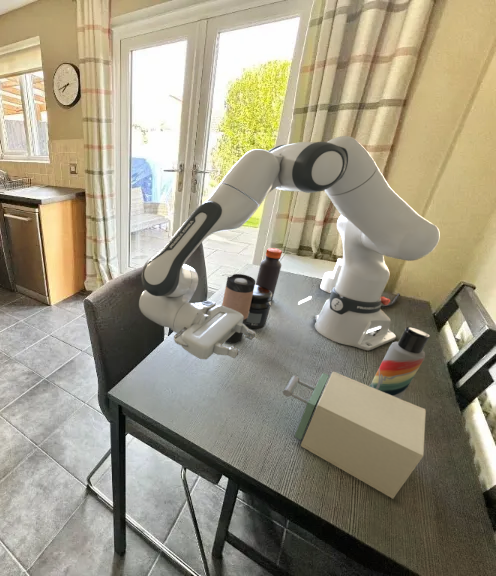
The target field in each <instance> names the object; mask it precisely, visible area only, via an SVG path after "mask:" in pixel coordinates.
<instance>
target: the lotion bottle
mask: <svg viewBox="0 0 496 576" xmlns="http://www.w3.org/2000/svg"><path fill="white" fill-rule="evenodd" d="M429 339H430V334H428V333H427V332H425V331H423V330H421V329H420V328H417V327H414V326H407V327H405V329H404V331H403V332H402V334H401V336H400V338H399V340H398V341H394V342H393V341H392V343H391V344H390V345H389V347H388V349H387V351H386V353H385V355H384V358H383V359H382V361H381V362H380V365H379V367H378V369H377V371H376V373H375V375H374V377H373V379H372V381H371V383H370V385H369V386H370V387H372V388H375V389H377V390H379V391H382V392H384V393H387V394H389V395H392V396H394V397H396V398H399V399H401V400H402V398H403V397H404V394H405V393H406V391H407V389H408V388H409V386H410V384H411V383H412V381H413V379H414V377H415V376H416V374H417V372H418V370H419V369H420V367H421V365H422V363H423V362H424V360H425V358H426V352H425V351H424V350H423V349H424V348H425V346H426V344H427V343H428V341H429Z"/></svg>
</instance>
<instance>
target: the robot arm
mask: <svg viewBox="0 0 496 576" xmlns="http://www.w3.org/2000/svg"><path fill="white" fill-rule="evenodd" d="M275 189H278V190H282V191H285V192H297V193H298V192H300V193H301V192H303V193H306V194H310V193H311V194H312V193H313V194H314V193H319V192H322V191H324V193H325V194H326V195H327V197H328V199H329V200H330V201H331V203H332V204H333V206H334V207H335V209H336V210H337V212H338V214H340V215H339V217H338V218H337V221H336V229H337V232H338V234H339V235H340V238H341V245H342V259H343V262H342V268H341V271H340V274H339V277H338V280H337V283H336V286H335V287H334V288H333V289H332V291H331V293H329V297H328V298H327V299H326V300H325V302H324V304H323V306H322V308H321V310H320V312H319V314H316V315H315V317H314V318H315V322H314V328H315V330H316V332H318V334H320V335H321V336H323V337H325V338H327V339H328V340H330V341H333V342H335V343H338V344H340V345H341V344H342V345H346V346H349V347H351V346H352V347H355V348H358V349H360V350H364V351H371V350H374V349H376V348H379V347H380V346H383V345H385V344H387V343H391V342H393V341H395V340H396V338H397V336H396V334H395V333H394V332H393V331H391V330H390V327H391V325H392V320H391V318H390V317H389V316H388V315H387V314H386V313H385V311H383V310H382V308H388V307H391V306H393V305H394V304H395V303H396V301H397V300H398V299H399V297H400V296H401V293H399V292H398V293H396V295H397V296H395V297H394V298H393V300H392V301H391V299H390V298H387V297H385V296H382V295H383V294H384V290H385V288H386V286H387V285H388V282H389V280H390V275H391V273H390V270H389V268H388V265H387V264H386V262H385V257H387V258H390V259H391V258H392V259H394V260H395V259H396V260H400V261H407V262H413V261H418V260H420V259H423V258H424V257H427V256H428V255H429V254H430V253H432V252H433V251H434V250H435V249H436V247H437V246H438V243H439V242H440V239H441V236H440V235H441V233H440V229H439V227H438V226H437V225H436V224H434V223H432V222H430V221H429V220H428V219H426V218H425V217H423V216H422V215H420V214H419V213H418V212H417V211H416V210H414V208H412V207H411V206H410V205H409V204H408V203H407V202H406V201H405V200H404V199H403V198H402V197H400V195H398V193H396V191H394V189H392V188H391V186H390V185H389V183H388V182H387V180H386V178H385V176H384V175H383V173H382V172H381V170H380V168H379V167H378V165H377V163H376V161H375V160H374V158H373V156H372V155H371V154H370V153H369V151H368V150H367V148H365V147H364V145H362V144H361V143H360V142H359V141H358V140H357V139H355V137H353V136H349V135H341V136H337V137H333V138H331V139H329V140H328V141H298V142H295V143H289V144H279V145H277V146H275V147H273V148H271V149H269V150H266V149H262V148H253V149H251V150H248V151H247V152H245V154H243V156H241V158H239V159H238V161H237V162H236V163H235V164H234V165H232V167H231V168H230V170H229V171H228V172H227V173H226V174H225V176H224V177H223V179H222V180H221V181H220V183H219V184H218V186H217V187H216V188H215V190H214V191H213V192H212V193H211V194H210V195H209V197H208V198H207V199H206V200H205V201H204V202H203V203H201V204H200V205H199V206H198V207H197V208H195V209H194V211H192V213H191V214H189V216H188V217H187V219H186V220H185V221H184V222H183V223H182V225H181V226H180V227H179V228H178V229H177V230H176V232H175V233H174V234H173V235H172V236H171V238H170V239H169V240H168V242H167V243H166V244H165V245H164V246H163V248H161V249H160V250H159V251H158V252H157V253H155V254H153V255H152V256H151V257H150V258H148V259H147V261H146V262H145V263H144V265H143V266H142V267H143V268H142V270H141V283H142V286H143V288H144V290H143V291H142V293H141V294H140V296H139V301H138V307H139V311H140V312H141V314H142V315H143V316H144V317H145V318H147V319H148V320H150V321H152V322H153V323H154V324H157V325H159V326H161V327H164V328H168V329H170V330H172V331H173V332H174V333H175V334H174V335H173V341H174V343H176V344H177V345H179V346H181V348H182V349H184V350H185V351H186V352H187V353H189V354H191V355H192V356H194V357H196V358H197V359H200V360H208V359H209V358H210V357H212V355H213V354H216V355H218V356H228V357H230V358H233V359H236V357H238V356H239V353H240V350H239V349H238V348H237V347H234V346H233V345H231V346H224V344H225V343H226V341H227V340H228V339H229V338H230V337H231V336H232V335H233V334H234V333H235V332H238V333H240V332H241V333H243V336H244V338H245V339H246V340H247V339H248V340H250V341H252V340H253V339H254V338H255V337H256V331H255V330H251V329H248V328H247V327H246V326H245V325H244V324H242V323H243V319H244V316H243V315H242V314H241V313H240V312H238V311H235V310H233V309H230V308H228V307H225V306H222V304H217V302H216V301H214V300H209V299H208V300H205V301H202V302H191V300H192V298H193V297H194V295H195V293H196V291H197V290H198V287H199V283H200V282H199V281H200V279H199V275H198V272H197V271H196V269H195V268H194V267H192V266H191V265H188V264H186V262H187V260H188V259H190V257H191V256H192V255H193V253H195V251H196V250H197V249H198V247H199V246H200V245H201V244H202V243H203V242H204V241H205V240H206V239H207V238H208V237H209V236H211V235H213V234H217V233H220V232H224V231H225V232H226V231H227V232H229V231H234V230H237V229H240V228H241V227H242V226H244V225H245V224H246V223H247V222H248V221H249V220H250V219H251V218H252V216H254V214H255V213H256V212H257V210H258V209H259V207H260V206H261V205H262V203H263V202H264V201H265V199H266V198H267V196H268V195H269V194H270V193H271V192H272V191H274V190H275ZM312 298H313V297H312V295H309V296H308V297H306V298H304V299H301V300H299V301H298V303H297V305H301V304H303V303H305V302H308V301H310V300H312Z"/></svg>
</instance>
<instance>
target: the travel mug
mask: <svg viewBox="0 0 496 576" xmlns="http://www.w3.org/2000/svg"><path fill="white" fill-rule="evenodd" d="M225 283H226V284H225V289H224V294H223V297H222V298H223V299H222V304H221V306H225V307H228V308H230V309H233V310H235V311H238V312H240V313H241V314H242V315H243V316H244V319H243V323H242V324H244V325H246V321H247V318H248V313H249V309H250V304H251V300H252V295H253V291H254V286H255V285H256V280H255V278H254V277H251V276H250V275H247V274H242V273H233V274H232V275H231V276H227V279H226V282H225ZM243 336H244V334H243V333H241V332H240V333H238V332H235V333H234V334H233V335H232V336H231V337H230V338H229V339H228V340H227V341H226V342H225V343H227V344H233V345H234V344H235V345H236V344H239V343H240V342H242V339H243Z"/></svg>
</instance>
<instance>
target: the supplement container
mask: <svg viewBox="0 0 496 576" xmlns="http://www.w3.org/2000/svg"><path fill="white" fill-rule="evenodd" d="M271 297H272V292H271V291H270V290H268V289H267V288H264V287H262V286H258V285H256V284H255V286H254V291H253V295H252V300H251V304H250V309H249V313H248V318H247V321H246V325H245V326H246V327H247V328H248V329H250V330H252V331H255V330H257V331H258V330H261V329H263V328H265V327H266V325H267V321H268V317H269V314H270V310H271V307H272V302H271V301H270V300H271Z"/></svg>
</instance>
